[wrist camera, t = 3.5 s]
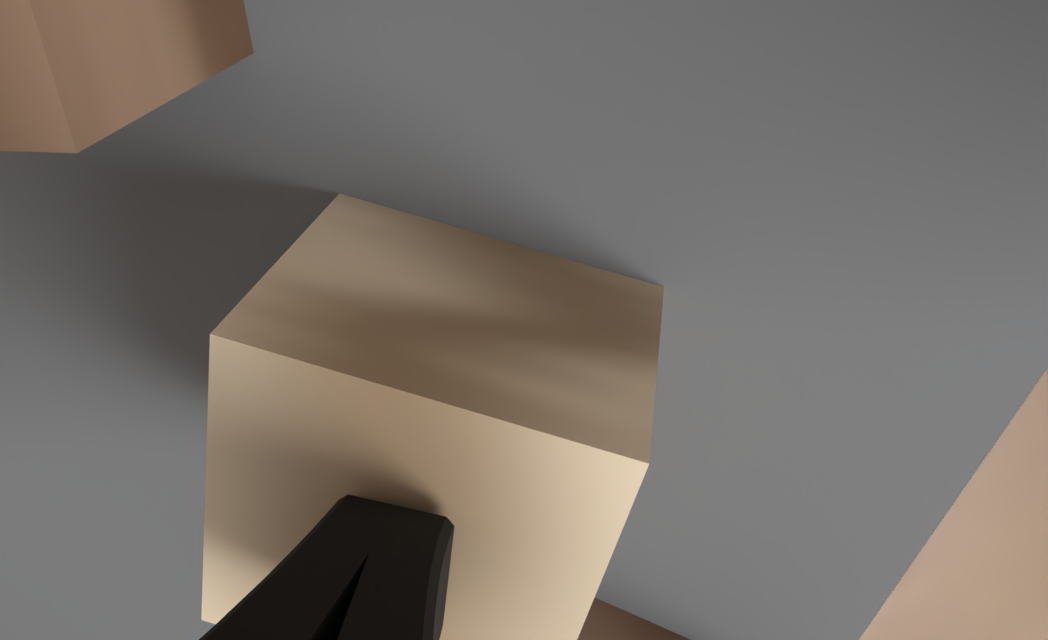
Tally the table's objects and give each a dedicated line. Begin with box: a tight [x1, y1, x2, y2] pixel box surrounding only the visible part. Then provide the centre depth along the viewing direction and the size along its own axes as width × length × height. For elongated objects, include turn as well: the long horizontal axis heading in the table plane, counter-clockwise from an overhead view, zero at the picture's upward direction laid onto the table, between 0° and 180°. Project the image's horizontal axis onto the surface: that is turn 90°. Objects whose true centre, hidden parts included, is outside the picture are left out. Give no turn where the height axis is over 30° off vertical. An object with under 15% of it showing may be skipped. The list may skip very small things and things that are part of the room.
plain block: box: [201, 194, 664, 640], centre depth 12 cm, size 5×5×4 cm
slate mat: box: [0, 0, 1048, 640], centre depth 14 cm, size 20×24×1 cm
